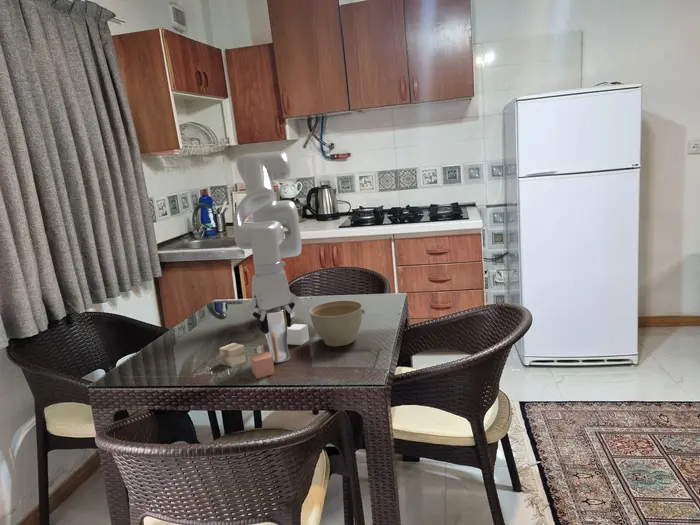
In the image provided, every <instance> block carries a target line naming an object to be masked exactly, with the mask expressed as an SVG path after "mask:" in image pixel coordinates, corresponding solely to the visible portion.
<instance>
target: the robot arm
mask: <svg viewBox="0 0 700 525" xmlns="http://www.w3.org/2000/svg"><path fill="white" fill-rule="evenodd" d="M291 166H292V165H291V162H290V158H289V156H288V154H287V152H286V151H284V150H276V151H275V150H274V151H266V152H255V153H246V154H243V155H241V156H238V158H237V159H236V168H237V171H238V173H239V176H240V178H241V179H242V181H243V183H244V185H245V194H246V195H245V196H244V197H243V198H242V199H241V200H240V202H239V203H238V205H237V206H236V208H235V210H234V213H233V222H232V223H233V235H234V241H235V245H236V247H238V248H239V249H241V250H251V252H252V259H253V266H254V275H252V279H251V295H252V297H251V298H252V301H251V302H250V303H249V305H248V306H247V307H246V308H245V311H246V312H247V313H248V314H250V315H251V316H253V317H254V318H256V319H257V320H258V327H259V331H260V332H261V333H263V334H264V335H265V334H267V333H268V330H267V322H266V320H265V319H264V318H265V314H266V311H267V310H270V309H274V308H278V307H284V308H285V311H286V316H287V322H288V327H291V324H292V319H293V318H294V317H295V312H294V311H293V309H294V307H295V306H296V303H297V302H298V300H299V296H297V295H295V294H294V293H293V292H291V291H290V286H289V282H288V279H287V276H286V270H285V268H284V267H286V265H287V264H286V262H285V261H282V259H285V258H293V257H298V256H300V255H301V253H302V250H303V246H302V245H303V244H302V243H303V242H302V237H301V236H302V235H301V228H300V227H301V226H300V222H299V213H298V209H297V208H298V207H297V205H296V204H295V202H294V201H292V200H290V199H287V200H286V199H285V200H276V199H275V191H274V183H273V181H277V180H279V181H280V180H287V179H289V178H290V175H291V171H292V170H291ZM249 216H252V217H251V218H252V221H253V222H246V223H244V222H245V221H246V219H247V218H249ZM284 228H285V229H286V230H285V229H284ZM254 309H257V311H256V310H254Z"/></svg>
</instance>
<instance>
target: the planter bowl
mask: <svg viewBox="0 0 700 525" xmlns="http://www.w3.org/2000/svg"><path fill="white" fill-rule="evenodd" d="M309 314H310V318H311V323H312V326H313V328H314V330H315V332H316V333H317V334H318V336H319V337H320V339H322V340H323V343H324V344H325V345H327V346H328V347H342V346H346V345H350V344H352V343H353V342H354V341H355V339H356V335H357V333H358V332H359V330H360V328H361V324H362V319H363V305H362V303H361V302H359V301H355V300H332V301H328V302H326V301H325V302H323V303H320V304H317V305H315V306H313V307H311V308H310V310H309Z"/></svg>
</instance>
